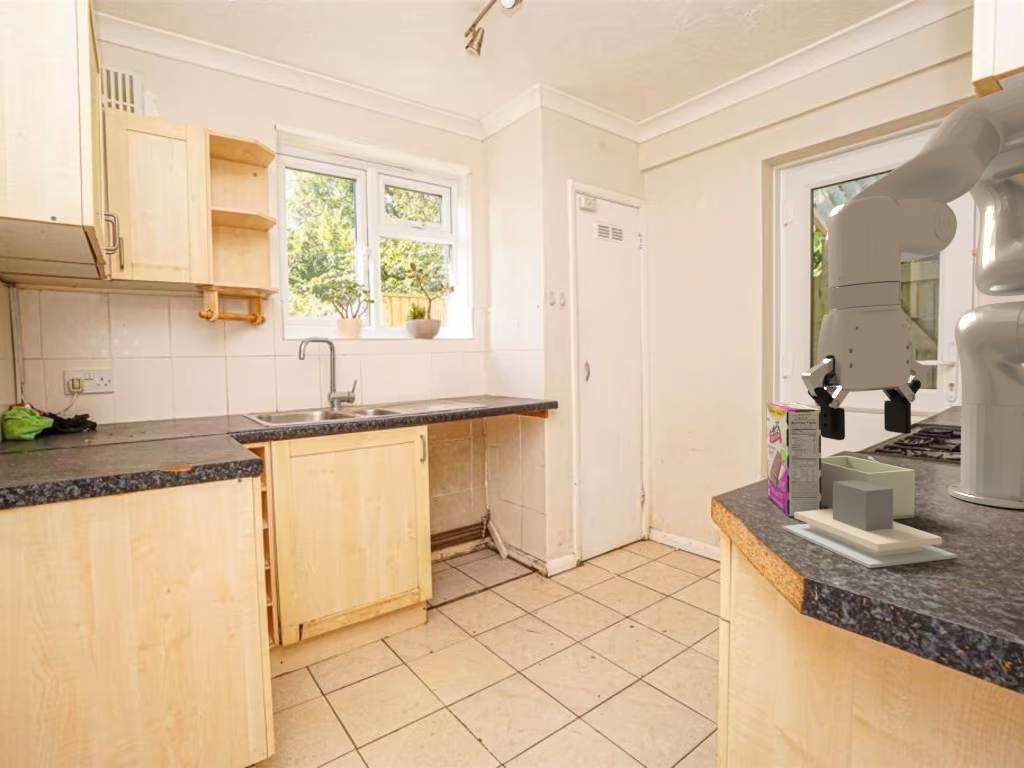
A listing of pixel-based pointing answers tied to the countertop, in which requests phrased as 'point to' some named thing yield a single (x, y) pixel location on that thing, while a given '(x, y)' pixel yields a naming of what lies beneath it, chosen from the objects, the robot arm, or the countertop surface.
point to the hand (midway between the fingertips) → (865, 435)
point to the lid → (866, 520)
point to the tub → (869, 480)
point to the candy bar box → (794, 456)
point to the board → (864, 557)
